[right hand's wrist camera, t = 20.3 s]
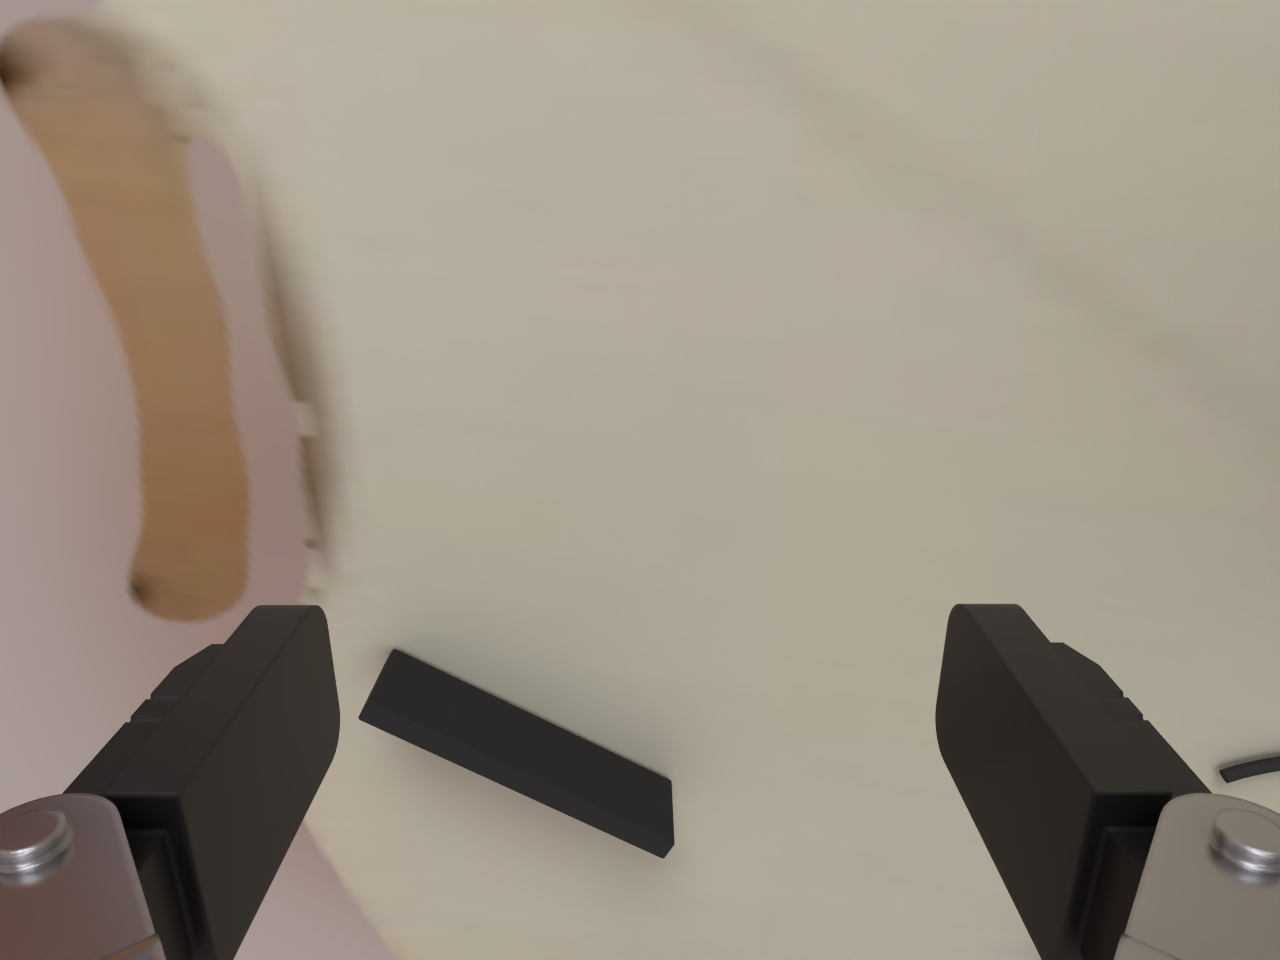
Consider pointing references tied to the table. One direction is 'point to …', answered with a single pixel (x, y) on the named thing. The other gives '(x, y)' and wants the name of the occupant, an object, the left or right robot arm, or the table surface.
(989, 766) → the right robot arm
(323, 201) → the table surface
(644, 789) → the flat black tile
